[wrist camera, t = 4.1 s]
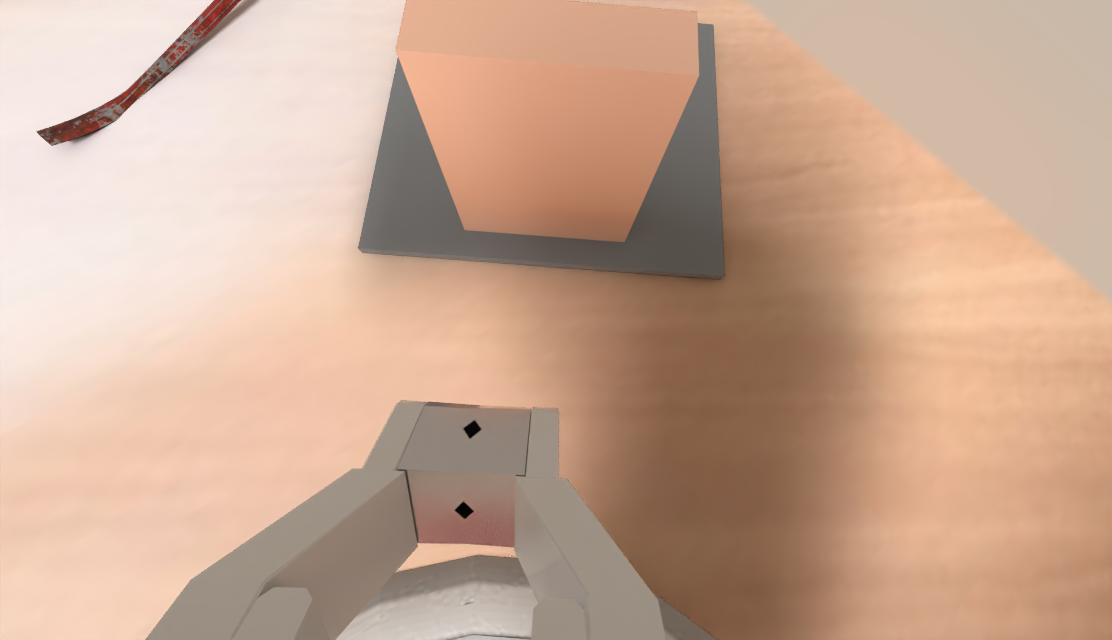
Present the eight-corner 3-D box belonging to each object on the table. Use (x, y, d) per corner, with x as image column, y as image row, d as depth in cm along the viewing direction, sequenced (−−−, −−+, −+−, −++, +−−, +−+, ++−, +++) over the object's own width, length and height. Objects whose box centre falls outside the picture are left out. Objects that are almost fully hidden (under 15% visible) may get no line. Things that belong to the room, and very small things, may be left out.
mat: (709, 32, 25) (713, 24, 24) (720, 279, 21) (724, 275, 20) (412, 7, 25) (410, -2, 24) (362, 252, 20) (358, 248, 20)
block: (625, 199, 21) (697, 6, 11) (624, 242, 20) (699, 75, 11) (470, 187, 21) (410, -19, 11) (464, 230, 20) (395, 50, 11)
